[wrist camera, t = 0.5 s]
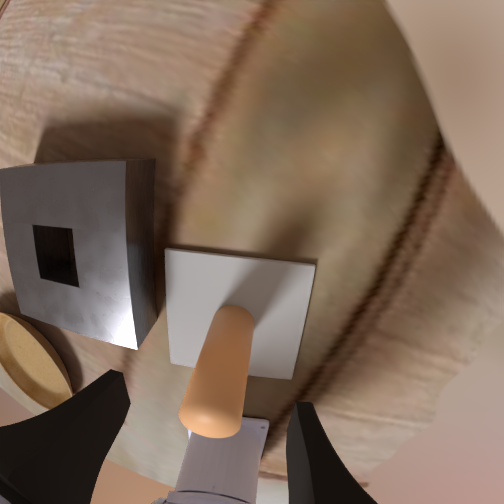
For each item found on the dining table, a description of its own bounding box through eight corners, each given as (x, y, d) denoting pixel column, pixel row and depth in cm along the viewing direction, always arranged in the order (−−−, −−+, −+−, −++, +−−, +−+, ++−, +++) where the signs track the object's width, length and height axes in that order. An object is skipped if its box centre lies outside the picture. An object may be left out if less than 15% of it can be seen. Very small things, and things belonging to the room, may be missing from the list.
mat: (291, 376, 22) (291, 379, 22) (172, 360, 23) (170, 363, 22) (314, 264, 19) (315, 266, 18) (166, 247, 19) (164, 249, 19)
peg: (252, 342, 21) (238, 441, 12) (212, 336, 21) (181, 431, 12) (256, 307, 20) (242, 407, 11) (213, 302, 20) (176, 396, 11)
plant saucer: (20, 379, 28) (11, 389, 26) (-14, 291, 24) (-27, 300, 21) (96, 414, 28) (88, 428, 25) (63, 318, 23) (48, 332, 20)
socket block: (157, 319, 21) (137, 349, 18) (46, 293, 22) (21, 313, 18) (155, 158, 17) (125, 161, 14) (33, 163, 18) (-1, 169, 14)
